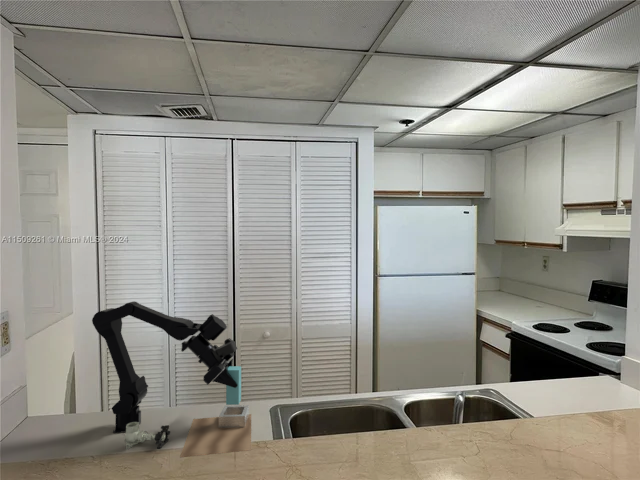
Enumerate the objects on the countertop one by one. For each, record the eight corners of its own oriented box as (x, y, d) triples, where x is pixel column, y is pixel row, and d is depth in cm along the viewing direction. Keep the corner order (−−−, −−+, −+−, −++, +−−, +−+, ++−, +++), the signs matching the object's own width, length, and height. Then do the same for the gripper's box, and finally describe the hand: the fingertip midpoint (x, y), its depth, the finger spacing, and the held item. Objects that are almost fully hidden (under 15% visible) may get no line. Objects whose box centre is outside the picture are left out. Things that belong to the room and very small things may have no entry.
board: (179, 461, 99) (179, 457, 99) (193, 422, 121) (193, 419, 122) (251, 454, 102) (251, 449, 102) (251, 417, 125) (251, 414, 125)
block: (226, 404, 117) (226, 370, 118) (229, 399, 121) (229, 366, 122) (238, 404, 117) (238, 370, 118) (241, 399, 121) (241, 366, 122)
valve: (118, 453, 104) (158, 455, 102) (118, 429, 104) (158, 431, 103) (132, 441, 110) (170, 443, 109) (132, 419, 110) (170, 420, 109)
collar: (218, 427, 115) (218, 416, 115) (224, 416, 124) (224, 405, 124) (244, 427, 116) (244, 416, 116) (248, 415, 124) (248, 405, 124)
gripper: (214, 339, 110) (250, 376, 110) (228, 327, 129) (259, 358, 129) (187, 366, 110) (224, 402, 110) (205, 349, 129) (237, 380, 129)
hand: (238, 384), depth 119 cm, fingers closed on block, 4 cm apart
